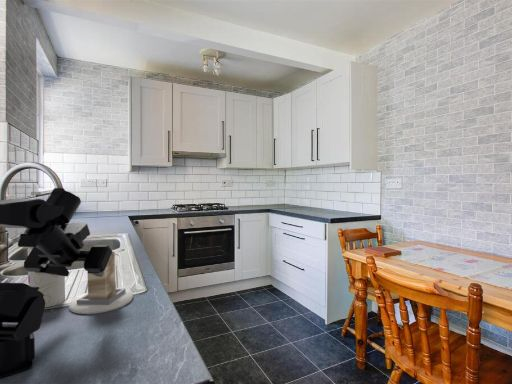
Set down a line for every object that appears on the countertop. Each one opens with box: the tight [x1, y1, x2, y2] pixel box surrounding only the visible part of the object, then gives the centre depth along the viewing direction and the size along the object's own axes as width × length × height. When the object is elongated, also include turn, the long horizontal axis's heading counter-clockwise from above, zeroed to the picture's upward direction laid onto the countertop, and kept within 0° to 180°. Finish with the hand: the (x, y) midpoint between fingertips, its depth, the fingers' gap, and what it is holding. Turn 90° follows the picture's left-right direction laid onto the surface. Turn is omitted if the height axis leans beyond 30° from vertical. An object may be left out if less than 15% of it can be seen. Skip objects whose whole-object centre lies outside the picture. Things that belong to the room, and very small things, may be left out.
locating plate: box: [68, 281, 133, 315], centre depth 83 cm, size 16×16×4 cm
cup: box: [29, 272, 66, 308], centre depth 83 cm, size 8×8×12 cm
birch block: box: [87, 250, 116, 299], centre depth 83 cm, size 5×5×13 cm
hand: (85, 274), depth 75 cm, fingers open, 9 cm apart
